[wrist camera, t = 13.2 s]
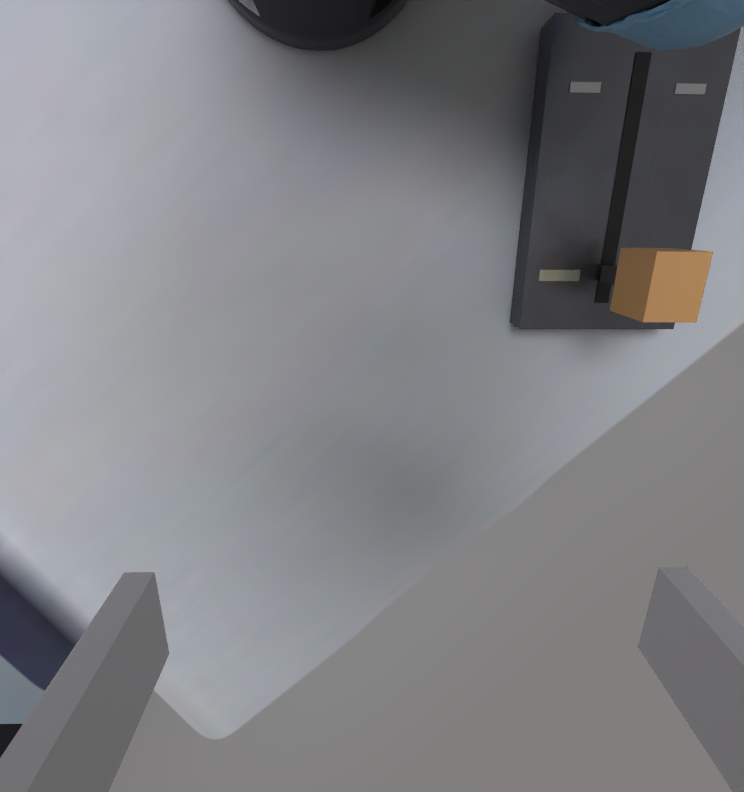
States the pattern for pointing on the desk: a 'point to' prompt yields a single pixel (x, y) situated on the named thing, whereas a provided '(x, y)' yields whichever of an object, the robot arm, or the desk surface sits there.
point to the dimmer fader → (658, 283)
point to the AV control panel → (611, 166)
